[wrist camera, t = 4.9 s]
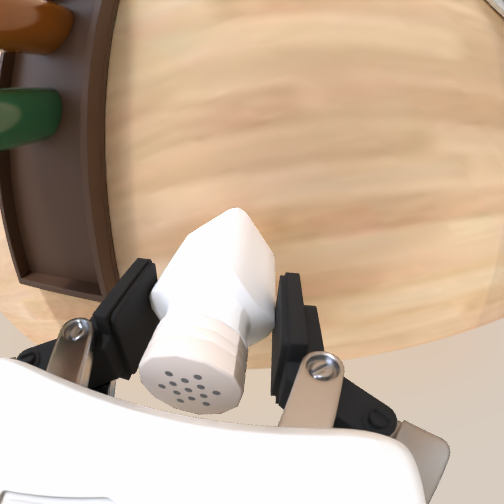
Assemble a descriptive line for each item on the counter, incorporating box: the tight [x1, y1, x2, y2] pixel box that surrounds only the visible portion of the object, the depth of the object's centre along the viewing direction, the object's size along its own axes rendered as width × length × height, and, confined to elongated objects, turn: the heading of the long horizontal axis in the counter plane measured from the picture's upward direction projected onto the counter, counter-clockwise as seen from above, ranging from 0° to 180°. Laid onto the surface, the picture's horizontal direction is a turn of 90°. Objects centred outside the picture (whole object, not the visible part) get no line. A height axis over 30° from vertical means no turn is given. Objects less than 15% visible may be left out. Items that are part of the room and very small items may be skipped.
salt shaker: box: [139, 208, 275, 414], centre depth 11 cm, size 4×4×10 cm
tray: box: [0, 0, 119, 302], centre depth 13 cm, size 25×11×2 cm, turn 176°
